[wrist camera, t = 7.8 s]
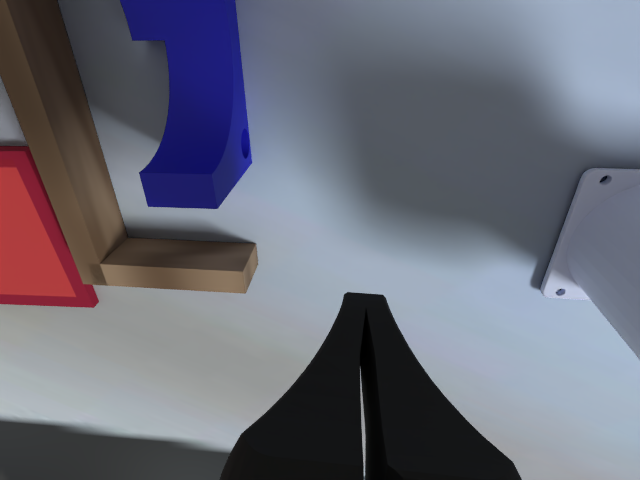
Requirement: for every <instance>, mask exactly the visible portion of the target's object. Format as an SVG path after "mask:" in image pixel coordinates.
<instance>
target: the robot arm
mask: <svg viewBox="0 0 640 480" xmlns="http://www.w3.org/2000/svg"><path fill="white" fill-rule="evenodd" d="M606 175H607V179H606V180H605V181H603V182H600V180H601V178H602V177H604V176H606ZM559 289H561V290H560V291H558V292H556V291H557V290H559ZM540 291H541V293H542V294H543V296H545V297H547V298H560V299H578V300H591V301H592V302H593V303H594V304H595V306H596V307H597V308H598V309H599V310H600V312H601V313H602V314H603V315H604V317H605V318H606V319H607V320H608V322H609V323H610V324H611V325H612V326H613V328H614V329H615V330H616V331H617V333H618V334H619V335H620V336H621V337H622V339H623V340H624V341H625V342H626V344H627V345H628V346H629V347H630V348H631V350H632V351H633V352H634V353H635V355H636V356H637V357H638V358H639V359H640V169H614V168H591V169H589V170H587V171H586V172H585V173H583V175H582V177H581V179H580V182H579V184H578V187H577V190H576V193H575V195H574V198H573V201H572V203H571V206H570V209H569V212H568V214H567V217H566V220H565V223H564V225H563V228H562V231H561V233H560V236H559V239H558V242H557V244H556V247H555V250H554V252H553V255H552V258H551V261H550V263H549V266H548V269H547V272H546V274H545V277H544V280H543V282H542V285H541V288H540ZM360 368H361V381H362V393H363V405H364V418H365V434H366V461H365V480H522V479H521V477H520V475H519V473H518V471H517V469H516V467H515V465H514V463H513V462H512V461H511V460H510V459H509V458H508V457H506V456H505V455H504V454H503V453H502V452H501V451H499V450H498V449H497V448H496V447H495V446H494V445H493V444H491V443H490V442H489V441H488V440H487V439H486V438H484V437H483V436H482V435H481V434H480V433H479V432H478V431H477V430H476V429H475V428H474V427H473V426H472V425H471V424H470V423H469V422H468V421H467V420H466V419H465V418H464V417H463V416H462V415H461V414H460V412H459V411H458V410H457V409H456V408H455V407H454V406H453V405H452V404H451V403H450V402H449V400H448V399H447V398H446V397H445V396H444V395H443V394H442V392H441V391H440V390H439V389H438V387H437V386H436V385H435V384H434V382H433V381H432V380H431V378H430V377H429V376H428V374H427V373H426V372H425V370H424V369H423V367H422V366H421V365H420V363H419V362H418V360H417V359H416V357H415V355H414V354H413V352H412V351H411V349H410V347H409V346H408V344H407V342H406V341H405V339H404V337H403V335H402V333H401V331H400V330H399V328H398V326H397V324H396V322H395V320H394V318H393V315H392V313H391V311H390V308H389V306H388V303H387V300H386V298H385V297H384V295H378V294H364V293H351V292H347V293H346V294H344V298H343V302H342V305H341V308H340V311H339V313H338V316H337V318H336V320H335V322H334V324H333V326H332V328H331V330H330V332H329V334H328V336H327V337H326V339H325V341H324V342H323V344H322V346H321V347H320V349H319V351H318V352H317V354H316V355H315V357H314V358H313V360H312V361H311V362H310V364H309V365H308V366H307V368H306V369H305V370H304V372H303V373H302V374H301V375H300V377H299V378H298V379H297V380H296V382H295V383H294V384H293V385H292V386H291V387H290V389H289V390H288V391H287V392H286V393H285V394H284V395H283V396H282V397H281V398H280V399H279V400H278V401H277V402H276V403H275V404H274V405H273V406H272V407H271V408H270V409H269V410H268V411H267V412H266V413H265V414H264V415H263V416H262V417H260V418H259V419H258V420H257V421H256V422H255V423H253V424H252V425H251V426H250V427H249V428H248V429H246V430H245V431H244V432H243V433H242V434H241V435H240V437H239V439H238V441H237V442H236V444H235V446H234V448H233V449H232V451H231V453H230V456H229V457H228V460H227V462H226V464H225V466H224V469H223V471H222V474H221V477H220V480H363V450H362V429H361V401H360Z"/></svg>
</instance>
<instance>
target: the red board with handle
mask: <svg viewBox="0 0 640 480" xmlns="http://www.w3.org/2000/svg"><path fill="white" fill-rule="evenodd" d="M98 302H99V301H98V298H97V296H96V293H95V291H94V288H93V286H92V285H91V284H83V282H82V279H81V277H80V274H79V272H78V269H77V267H76V264H75V262H74V259H73V257H72V254H71V252H70V249H69V247H68V244H67V242H66V239H65V237H64V234H63V232H62V229H61V227H60V224H59V222H58V219H57V216H56V214H55V211H54V209H53V206H52V204H51V201H50V199H49V196H48V194H47V191H46V189H45V186H44V184H43V181H42V179H41V176H40V174H39V171H38V169H37V166H36V164H35V161H34V159H33V156H32V154H31V151H30V148H29V146H0V304H15V305H41V306H66V307H92V308H94V307H95V306H96V304H97V303H98Z"/></svg>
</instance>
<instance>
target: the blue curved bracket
mask: <svg viewBox="0 0 640 480" xmlns="http://www.w3.org/2000/svg"><path fill="white" fill-rule="evenodd" d="M120 2H121V5H122V7H123V10H124V13H125V16H126V19H127V22H128V26H129V29H130V33H131V37H132V41H141V40H165V45H166V51H167V58H168V67H169V87H170V94H169V109H168V117H167V123H166V127H165V132H164V135H163V138H162V141H161V143H160V146H159V148H158V150H157V152H156V154H155V156H154V157H153V159H152V160H151V162H150V163H149V164H148V165H147V166H146V167H145V168H144V169H143V170H142V171H141V172H139V174H140V178H141V182H142V186H143V189H144V193H145V197H146V201H147V205H148V207H175V208H206V209H218V207H219V206H220V205H221V203H222V202H223V201H224V199H225V198H226V197H227V195H228V194H229V193H230V191H231V190H232V189H233V187H234V186H235V185H236V183H237V182H238V181H239V179H240V178H241V177H242V175H243V174H244V173H245V171H246V170H247V169H248V167H249V166H250V165H251V163H252V159H251V149H250V139H249V130H248V120H247V110H246V101H245V91H244V81H243V72H242V62H241V52H240V43H239V33H238V23H237V13H236V4H235V0H120Z"/></svg>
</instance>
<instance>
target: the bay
mask: <svg viewBox="0 0 640 480" xmlns="http://www.w3.org/2000/svg"><path fill="white" fill-rule="evenodd" d="M0 75H1V78H2V80H3V83H4V86H5V88H6V91H7V93H8V96H9V98H10V101H11V103H12V106H13V108H14V111H15V113H16V116H17V118H18V121H19V123H20V126H21V128H22V131H23V133H24V136H25V138H26V141H27V143H28V146H29V148H30V151H31V154H32V156H33V159H34V161H35V164H36V166H37V169H38V171H39V174H40V176H41V179H42V181H43V184H44V186H45V189H46V191H47V194H48V196H49V199H50V201H51V204H52V206H53V209H54V211H55V214H56V216H57V219H58V222H59V224H60V227H61V229H62V232H63V234H64V237H65V239H66V242H67V244H68V247H69V249H70V252H71V254H72V257H73V259H74V262H75V264H76V267H77V269H78V272H79V274H80V277H81V279H82V282H83V284H91V285H108V286H126V287H143V288H160V289H177V290H195V291H212V292H229V293H246V292H247V289H248V287H249V285H250V282H251V280H252V277H253V275H254V273H255V270H256V268H257V265H258V258H257V248H256V244H252V243H231V242H210V241H188V240H167V239H146V238H128V236H127V232H126V229H125V226H124V222H123V219H122V216H121V212H120V209H119V206H118V202H117V199H116V196H115V192H114V189H113V186H112V182H111V179H110V176H109V172H108V169H107V166H106V162H105V159H104V156H103V152H102V149H101V146H100V142H99V139H98V136H97V132H96V129H95V126H94V122H93V119H92V116H91V112H90V109H89V106H88V102H87V99H86V96H85V92H84V89H83V85H82V82H81V79H80V75H79V72H78V69H77V65H76V62H75V59H74V55H73V52H72V49H71V45H70V42H69V39H68V35H67V32H66V29H65V25H64V22H63V19H62V15H61V12H60V9H59V5H58V2H57V0H0Z"/></svg>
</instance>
